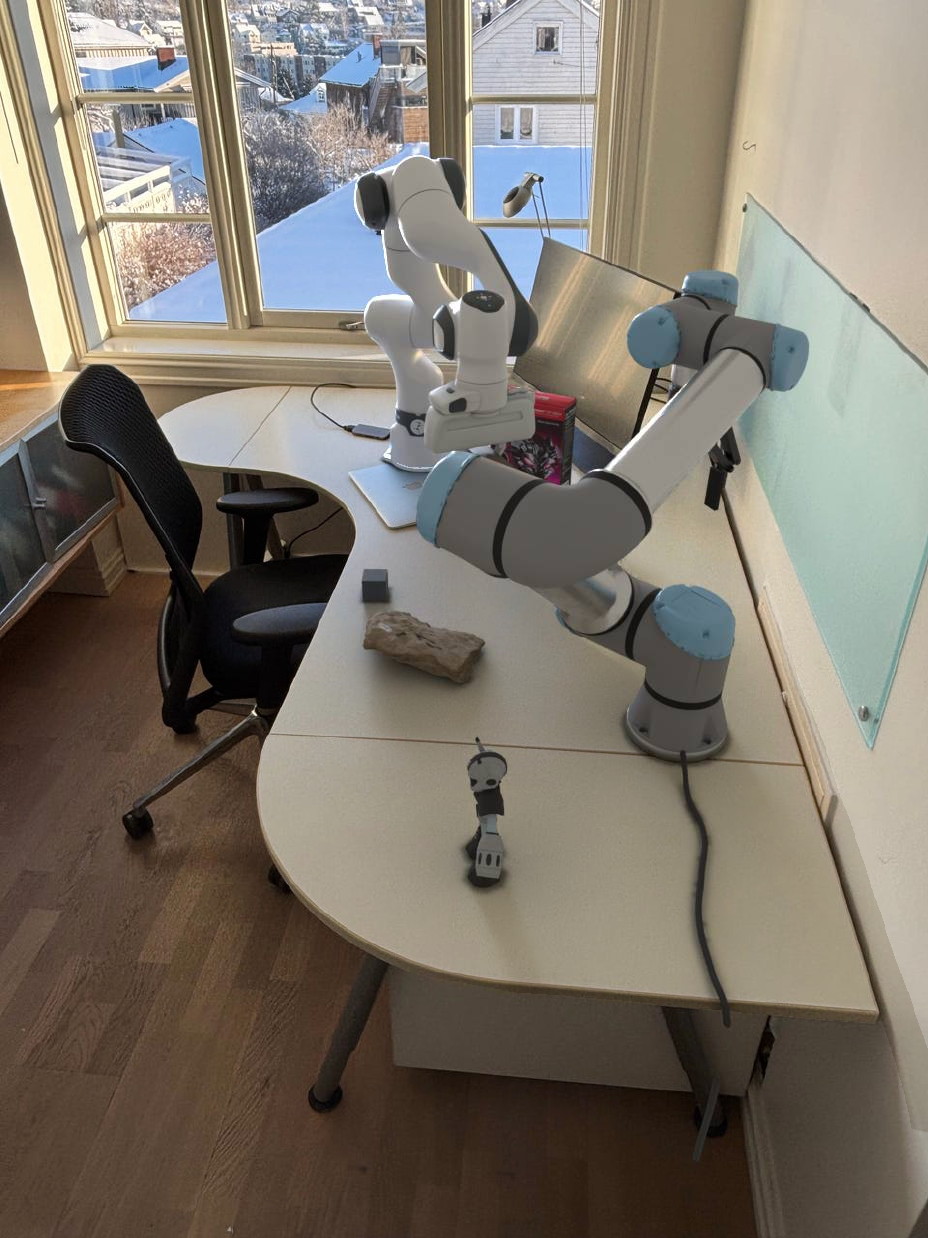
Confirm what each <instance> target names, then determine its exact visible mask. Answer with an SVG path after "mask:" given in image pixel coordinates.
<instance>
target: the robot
mask: <svg viewBox="0 0 928 1238" xmlns="http://www.w3.org/2000/svg"><path fill="white" fill-rule="evenodd" d="M474 740H475V743H476V746H477V748H478V750H479V751H478V752H477V753H475V755H473V756H472V757H471V758H470V759H469V761H468V762H467V765H466V770H467V776H468V779H469V781H470V782H469V789H470V791H472V792H473V793H472V794H473V796H474V799H475V801H476V804H475V814H476V819H477V820H478V827H477V828H476V831H475V833H474V835H473V836H472V838H471V839H470V841H469V842H468V843H467V845H466V847H465V851H466V853H467V855H468V857H469V858H470V859H472V860H474V861H473V862H472V864H471V866H470V868H469V871H468V874H467V877H466V878H467V879H468V880H469V882H470V883H472V885H473V886H476V887H479V888H486V887H491V886H492V885H494V884H496V883H498V882H500V880H501V877H502V873H503V872H502V867H503V866H502V865H503V859H504V849H505V847H504V843H503V838H502V836H501V835H500V833H498V825H497V824H498V816H501V817H504V816H505V804H504V803H505V801H504V797H503V795H502V793H501V785H500V784H501V783H502V779H503V778H504V777H506V775H507V773H508V762H507V759H506V758H505V757H504V756H503V755H502V754H501V753H499V752H497V751H495V750H492V749H485V747H484V745H483V743H482V741H481V739H480V738H479V736H476V737H475V739H474Z"/></svg>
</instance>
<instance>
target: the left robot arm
mask: <svg viewBox="0 0 928 1238" xmlns="http://www.w3.org/2000/svg"><path fill="white" fill-rule="evenodd" d="M467 195H468V183H467V179H466V176H465V173H464V171H463V169H462V167H461V165H460V164H459V162H458V161H456V160H455V159H454V158H450V157H449V158H448V157H438V158H437V159H431V158H430V157H428V156H425V155H412V156H408V157H406V158H404V159H403V160H401V161H400V162H399V163H398V164H397V165H394V166H390V167H386V168H384V169H380V170H377V171H375V170H371V171H369V172H366V173H364V174H362V175H361V176H359V177H358V179H357V181H356V182H355V189H354V196H353V201H354V208H355V211H356V213H357V215H358V217H359V219H360V220H361V222H362V224H363V226H364V227H366V228H367V229H368V230H371V231H381V236H382V245H383V252H384V259H385V266H386V273H387V276H388V278H389V280H390V282H391V283H392V284H393V285H394V286H395V287H396V288H398V289H399V290H401V292H403V293H404V294H406V295H402V294H401V295H400V294H388V295H380V296H374V297H373V298H371V300H370V301H369V302H368V303H367V305H366V308H365V310H364V314H363V325H364V329H365V332H366V333H367V335H368V336H369V338H370V339H371V340H372V341H374V342H375V343H376V344H377V346H379V347H380V348H381V350H382V351H383V352H384V354H385V355H386V357H387V359H388V361H389V362H390V365H391V367H392V370H393V375H394V380H395V390H396V404H395V409H394V415H395V421H396V422H395V423H394V424H393V425H392V426H391V427H390V428H389V447H388V449H387V450H386V451H385V453H384V454H383V456H382V460H383V461H385V462H387V463H391V464H392V465H393V466H395V467H396V468H398V469H400V470H403V471H407V472H415V473H427V472H429V473H430V472H431V470H432V469H433V468H429V469H413V468H407V467H404V466H401V465H399V464H402V465H405V466H408V467H419V468H421V467H434V466H435V465H436V464H437V463H438V462H439V461H440V460H441V459H443V458H446V457H447V456H448V455H449V454H451V453H453V452H457V451H464V452H467V449H470V448H476V447H482V446H490V445H493V444H495V445H496V447H495V449H494V451H496V452H497V453H498V454H499V455H500V456H501V455H502V453H503V451H504V450H505V448H506V442H511V441H517V440H523V439H529V438H531V437H532V436H533V434H534V433H535V415H534V404H535V393H534V391H533V390H534V389H533V388H530V387H529V386H527V385H523V386H519V388H508V385H509V371H508V368H507V359H508V358H509V357H510V358H512V357H513V358H514V357H515V358H519V357H523V356H524V355H525V354H526V353H527V352H528V351H529V350H530V349H531V348H532V347H533V346H534V344H535V343H536V341H537V339H538V336H539V320H538V316H537V313H536V310H535V308H534V307H533V305H532V304H531V303H530V302H529V300H528V299H527V298H526V296H524V294H523V293H522V292H521V290H520V288H519V287H518V285H517V283H516V282H515V280H514V278H513V276H512V275H511V273H510V271H509V270H508V268H507V265H506V264H505V262H504V260H503V259H502V257H501V255H500V254H499V251H498V249H497V248H496V246H495V245H494V244H493V241H492V240H491V238H490V236H489V235H488V234H487V233H486V232H485V231H484V230H483V229H482V228H480V227H478V226H476V225H475V224H474V223H472V221H470V220H469V219H468V218H467V217H466V215H464V213H463V212H462V211H463V209H464V207H465V205H466V203H467ZM440 265H442V266H443V265H444V266H448V267H452V268H457V269H460V270H463V271H466V272H468V273H470V274H471V275H473V276H474V277H475V278H477V280H478V281H479V282H480V284H481V286H482V288H483V289H474V290H470V291H467V292H465V293H463V294H462V295H461V297H460V298H459V299H458V297H456V296H455V294H454V293H453V292H452V290H451V289H450V288H449V286H448V284H447V283H446V280H445V279H444V276H443V275H442V272H441V267H440ZM423 350H429V351H436V352H437V353H438V354H439V355H441V356H442V357H443V358H445V359H446V360H448V361H450V362H452V361H454V362H456V363H457V367H456V372H455V378H454V379H452V380H451V381H449V382H447V383H445V384H444V381H445V380H444V375H443V372H442V371H441V369H440V367H439V366H438V365H437V364H436V363H434V362H433V361H431V360H430V359H429V358H428V357H427V356H426V355H425V354H424V352H423ZM528 390H529V391H528ZM397 463H399V464H397Z"/></svg>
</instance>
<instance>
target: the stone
mask: <svg viewBox="0 0 928 1238" xmlns="http://www.w3.org/2000/svg"><path fill="white" fill-rule="evenodd" d="M366 623H367V624H366V625H365V629H366V632H365V634H364V638H363V642H362V648H363V649H364V650H365V651H368V650H370V651H377V652H379V653H380V654H382V656H383V657H384V658H386V659H388V660H389V659H390V660H395V661H396V662H397V663H403V664H408V665H410V666H413V667H415V668H417V669H420V670H421V671H426V672H427V673H429V674H431V675H433V676H437V677H446V678H449V679H450V680H452V681H453V682H454V683H459V684H464V683H467V681H468V680H469V679H470V676H471V675H472V672H473V670H474V669H473V668H474V667H473V666H474V664H475V662H476V661H477V658H478V656H479V654H480V653H481V651H482V648H483V647H484V646H485V645H486V641H485V640H484V639H483V638H481V637H480V636H477V635H476V634H474V633H470V632H465V631H464V632H463V631H457V630H451V629H448V628H446V627H434V626H431V625H430V623H428V622H426V621H421V620H420V619H419V618H418V617H416V616H413V615H412V613H410V612H405V611H400V610H387V609H386V610H382V611H380V612H377V613H376V614H374V615H373V616H371V617H369V618H368V620H367V622H366Z"/></svg>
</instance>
